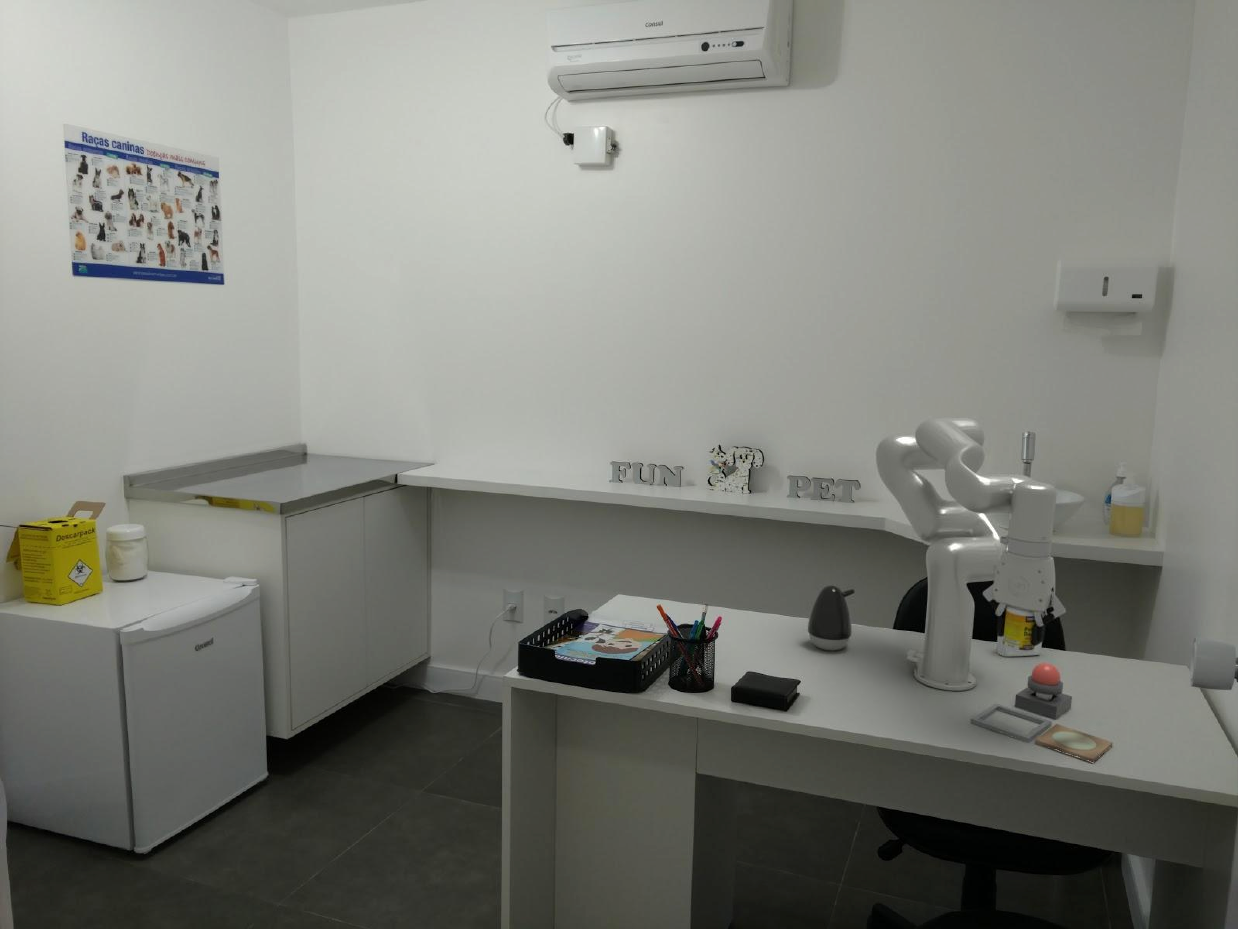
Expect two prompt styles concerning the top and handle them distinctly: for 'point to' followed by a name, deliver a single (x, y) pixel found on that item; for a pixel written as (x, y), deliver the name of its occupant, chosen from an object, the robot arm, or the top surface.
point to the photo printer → (1006, 652)
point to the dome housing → (1043, 703)
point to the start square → (1028, 737)
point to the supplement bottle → (1018, 630)
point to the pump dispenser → (830, 619)
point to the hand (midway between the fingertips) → (1019, 638)
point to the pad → (1074, 742)
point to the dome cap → (1045, 681)
